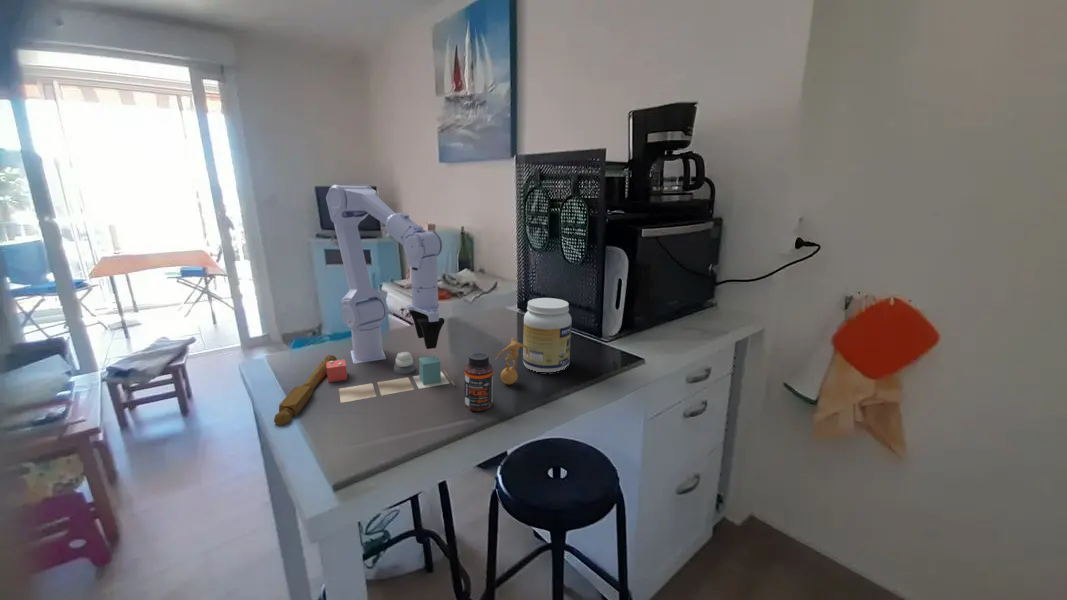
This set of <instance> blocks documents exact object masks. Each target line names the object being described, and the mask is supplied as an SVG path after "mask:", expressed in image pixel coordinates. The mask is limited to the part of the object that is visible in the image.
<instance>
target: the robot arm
mask: <svg viewBox="0 0 1067 600" xmlns="http://www.w3.org/2000/svg"><path fill="white" fill-rule="evenodd" d="M325 200H326V204H327V208H328V214H329V217H330V221H331V222H332V223H333V226H334V230H335V235H336V239H337V242H338V247H339V252H340V256H341V260H342V264H343V269H344V273H345V277H346V282H347V285H348V292H347V293H346V294H345V296H343V297H342V299H341V300H340V301H341V319H342V320H343V323H344V324H345V325H346V327H348V328H349V329H350V332H351V342H352V344H351V345H352V350H350V355H351V360H352V364H361V363H368V362H374V361H380V360H386V359H387V357H386V355H385V352H384V350H383V337H382V324H384V320H385V319H386V317H387V315H388V307H387V304H386V302H385V301H384V300H383V297H382V292H381V291H380V290H377V289H376V288H374V287H372V284H371V283H372V282H371V281H370V276H369V275H370V274H369V270H368V266H367V262H366V257H365V253H364V248H363V244H362V239H361V234H360V231H359V225H360V223H361V221H363V220H365V219H366V218H367V217H368V215H370V216H371V217H373V218H375V219H376V220H378V221H379V222H380V223H382V224H383V225H385V231H386V233H387V234H388V235H390V237H392V238H393V239H394V240H395V241H397V242H398V243H399V244H401V246H403V250H404V253H405V255H406V257H407V263H408V266H409V267H410V275H411V276H410V278H411V299H412V300H411V304H408V305H406V309H407V310H408V312H409V314H410V316H411V319H412V321H413V323H414V326H415V331H416V335H417V338H418V339H423V340H424V342H423V343H424V346H425V348H426V349H427V350H430V349H436V348H437V346H438V341H439V336H440V332H441V329H442V327H443V326H444V324H445V321H446V320H445V319H444V318H443V317H439V315H440V314H439V309H440V303H439V288H438V287H439V286H438V285H439V284H438V283H439V281H438V256H439V255H441V253H442V250H443V240H442V238H441V237H440V235H439V234H438V233H437V232H436V231H435V230H427V229H424V227H423V226H421V225H419V224H418V223H416V222H415V221H413V220H412V219H411V218H410V215H409V214H408V213H406V212H405V213H404V212H397V213H396V212H394V211H393V209H391V208H390V207H389V206H388V205H387V204H386V203H385V202H384V201H383V200H381V198H380V197H379V196H378V192H377V190H375V189H374V188H372V187H371V186H370V185H367V184H365V185H339V184H333V185H331V186H330V187H329V189H328V192H327V194H326V196H325Z"/></svg>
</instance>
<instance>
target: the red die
mask: <svg viewBox="0 0 1067 600" xmlns="http://www.w3.org/2000/svg"><path fill="white" fill-rule="evenodd" d="M326 365H327V375H326V377H327V382H328V383H332V382H340V381H345V380H348V372H347V364H346V360H345V359H337V360H336V361H329V362H326Z"/></svg>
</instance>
